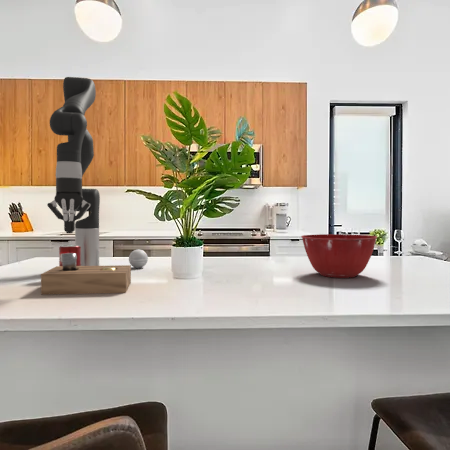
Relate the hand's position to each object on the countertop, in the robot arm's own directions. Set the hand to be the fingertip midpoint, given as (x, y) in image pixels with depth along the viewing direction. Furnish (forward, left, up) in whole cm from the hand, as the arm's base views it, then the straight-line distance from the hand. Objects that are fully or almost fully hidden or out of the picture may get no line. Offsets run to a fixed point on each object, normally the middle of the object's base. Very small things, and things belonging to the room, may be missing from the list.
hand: (69, 233), depth 122 cm
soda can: (-18, -4, -18) cm, 26 cm away
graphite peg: (0, 0, -12) cm, 12 cm away
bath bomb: (-43, +18, -18) cm, 50 cm away
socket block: (0, +6, -17) cm, 18 cm away
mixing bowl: (-16, +96, -18) cm, 99 cm away
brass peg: (0, +12, -17) cm, 21 cm away
